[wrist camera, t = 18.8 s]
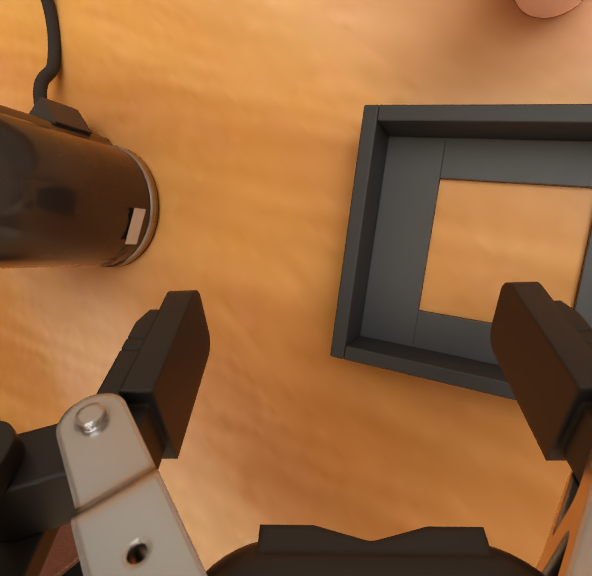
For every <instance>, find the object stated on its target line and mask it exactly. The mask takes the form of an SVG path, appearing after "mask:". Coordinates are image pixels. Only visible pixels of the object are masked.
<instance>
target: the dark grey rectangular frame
mask: <svg viewBox="0 0 592 576" xmlns="http://www.w3.org/2000/svg"><path fill="white" fill-rule="evenodd" d="M440 179H453V180H469V181H486V182H502V183H519V184H536V185H552V186H569V187H585V188H592V104H521V105H380V106H379V105H365V106H364V112H363V119H362V127H361V134H360V141H359V149H358V156H357V163H356V171H355V178H354V185H353V193H352V200H351V207H350V215H349V222H348V229H347V237H346V244H345V252H344V259H343V266H342V274H341V281H340V288H339V296H338V303H337V310H336V318H335V325H334V332H333V340H332V347H331V354H330V355H331V356H332V357H337V358H341V359H345V360H349V361H354V362H358V363H362V364H366V365H370V366H375V367H379V368H383V369H387V370H391V371H396V372H400V373H404V374H408V375H413V376H417V377H421V378H425V379H429V380H434V381H438V382H442V383H446V384H450V385H455V386H459V387H463V388H467V389H471V390H476V391H480V392H484V393H488V394H493V395H497V396H501V397H505V398H509V399H514V400H516V398H515V396H514V394H513V392H512V389H511V387H510V385H509V383H508V381H507V379H506V377H505V375H504V373H503V371H502V369H501V367H500V365H499V363H498V361H497V359H496V357H495V355H494V353H493V350H492V346H491V340H490V332H491V326H492V323H489V322H483V321H478V320H472V319H466V318H461V317H455V316H450V315H444V314H438V313H433V312H427V311H421V310H419V306H420V300H421V294H422V288H423V281H424V275H425V269H426V263H427V257H428V250H429V244H430V238H431V232H432V226H433V220H434V213H435V207H436V201H437V195H438V189H439V182H440ZM574 310H575V311H577V312H578V313H580V314H581V316H582V317H583V318H584V319H585V321H586V322H587V323H588V324H589V325H590V327H591V328H592V224H591V229H590V234H589V238H588V243H587V248H586V253H585V258H584V262H583V267H582V272H581V277H580V281H579V286H578V291H577V296H576V301H575V305H574Z"/></svg>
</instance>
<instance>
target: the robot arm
mask: <svg viewBox="0 0 592 576" xmlns="http://www.w3.org/2000/svg"><path fill="white" fill-rule="evenodd" d="M41 2H42V6H43V10H44V14H45V19H46V25H47V34H48V59H47V65H46V67H45V68H44V69H43V70H42V71H41V72H40V73H39V74H38V75H37V77H36V79H35V82H34V87H33V99H34V107H33V108H32V110H31V111H30V113H29V114H27V113H24V112H21V111H17V110H14V109H11V108H8V107H5V106H1V105H0V268H38V267H80V266H102V267H118V266H123V265H126V264H128V263H130V262H132V261H134V260H135V259H136V258H138V257H139V256H140V255H141V254H142V253H143V252H144V250H145V249H146V248H147V246H148V244H149V243H150V241H151V239H152V237H153V234H154V231H155V228H156V224H157V218H158V196H157V190H156V186H155V182H154V180H153V177H152V175H151V173H150V171H149V169H148V168H147V166H146V165H145V163H144V162H143V161H142V160H141V159H140V158H139V157H138V156H137V155H136V154H134V153H133V152H131V151H129V150H127V149H124V148H121V147H118V146H114V145H112V144H111V143H110V141H109V140H108V139H107V138H104V137H100V136H97V135H94V134H92V132H91V130H90V129H89V127H88V126H87V124H86V122H85V121H84V119H83V118H82V116H81V114H80V113H79V111H78V110H76V109H74V108H71V107H68V106H65V105H63V104H60V103H57V102H54V101H52V100H49V99H47V89H48V84H49V83H50V82H51V81H52V80H53V79H54V78H55V76H56V75H57V74H58V72H59V69H60V60H61V43H60V31H59V23H58V17H57V13H56V9H55V5H54V1H53V0H41ZM490 340H491V346H492V350H493V353H494V355H495V357H496V359H497V361H498V363H499V365H500V367H501V369H502V371H503V373H504V375H505V377H506V379H507V381H508V383H509V385H510V387H511V389H512V392H513V394H514V396H515V398H516V400H517V402H518V404H519V406H520V408H521V410H522V412H523V414H524V416H525V418H526V420H527V422H528V424H529V426H530V428H531V430H532V432H533V435H534V437H535V439H536V441H537V443H538V445H539V447H540V449H541V451H542V453H543V455H544V457H545V459H546V460H567V461H568V463H569V465H570V467H571V469H572V471H571V473H570V475H569V477H568V479H567V482H566V485H565V488H564V491H563V494H562V497H561V500H560V503H559V506H558V509H557V512H556V515H555V518H554V521H553V524H552V527H551V530H550V533H549V536H548V539H547V542H546V545H545V548H544V550H543V553H542V555H541V557H540V559H539V562H538V564H537V566H536V568H534V567H533V566H531V565H530V564H528V563H527V562H525V561H523V560H521V559H519V558H517V557H515V556H514V555H512V554H510V553H507V552H505V551H502V550H500V549H497V548H495V547H491V546H489V544H488V541H487V537H486V534H485V531H484V528H483V527H424V528H420V529H416V530H413V531H409V532H406V533H402V534H398V535H395V536H391V537H387V538H384V539H380V540H376V541H367V540H363V539H359V538H356V537H352V536H349V535H345V534H342V533H339V532H335V531H332V530H328V529H325V528H321V527H318V526H314V525H260V530H259V539H258V542H255V543H251V544H248V545H246V546H244V547H241V548H239V549H237V550H235V551H233V552H231V553H230V554H228V555H226V556H225V557H223V558H222V559H221V560H219V561H218V562H217V563H215V564H214V565H213V566H211V567H210V568H209V569H208V570H207V571H206V572H205V569H204V567H203V565H202V563H201V561H200V559H199V557H198V554H197V552H196V550H195V548H194V546H193V544H192V542H191V539H190V537H189V535H188V533H187V531H186V529H185V527H184V524H183V522H182V520H181V518H180V516H179V514H178V512H177V509H176V507H175V505H174V503H173V501H172V499H171V497H170V494H169V492H168V490H167V488H166V486H165V484H164V482H163V479H162V477H161V475H160V473H159V471H158V468H159V465H160V462H161V460H162V459H178V456H179V453H180V449H181V446H182V443H183V439H184V436H185V433H186V429H187V426H188V423H189V419H190V416H191V413H192V409H193V406H194V403H195V399H196V396H197V393H198V389H199V386H200V383H201V379H202V376H203V373H204V369H205V366H206V363H207V360H208V356H209V351H210V336H209V331H208V326H207V322H206V318H205V314H204V309H203V305H202V301H201V297H200V294H199V292H198V291H197V290H190V291H169V292H168V293H167V295H166V297H165V299H164V301H163V303H162V305H161V307H160V309H159V310H150V311H148V312H147V313H146V314H145V315H144V316H143V317H141V318H140V319H139V320H138V321H137V322H136V323H135V325H134V327H133V329H132V330H131V332H130V334H129V336H128V339H127V340H126V341H125V343H124V345H123V347H122V351H120V352H119V354H118V356H117V358H116V359H115V361H114V363H113V365H112V367H111V369H110V370H109V372H108V374H107V376H106V378H105V379H104V381H103V383H102V385H101V387H100V388H99V390H98V392H97V394H96V395H92V396H89V397H87V398H85V399H83V400H81V401H79V402H77V403H76V404H74V405H73V406H72V407H71V408H69V409H68V410H67V411H66V412H65V414H64V415H63V416H62V417H61V419H60V421H59V423H57V424H54V425H51V426H47V427H43V428H40V429H36V430H32V431H29V432H25V433H21V434H18V435H17V433H16V432H15V430H14V429H13V427H12V426H11V425H10V424H9V423H7V422H4V421H0V576H39V575H40V573H41V570H42V568H43V565H44V563H45V561H46V558H47V556H48V554H49V551H50V549H51V547H52V544H53V542H54V540H55V537H56V535H57V533H58V530H59V528H60V526H63V525H66V524H69V523H71V527H72V531H73V535H74V539H75V544H76V548H77V552H78V556H79V560H80V564H81V568H82V572H83V576H592V328H591V327H590V325H589V324H588V323H587V322H586V321H585V319H584V318H583V317H582V316H581V314H580V313H578V312H577V311H575V310H574V309H572V308H571V307H569V306H568V305H566V304H565V303H563V302H562V301H553V299H552V298H551V297H550V296H549V294H548V293H547V292H546V290H545V289H544V288H543V286H542V285H541V284H540V283H538V282H512V283H505V284H504V285H503V286H502V288H501V291H500V295H499V299H498V303H497V307H496V311H495V315H494V318H493V322H492V326H491V332H490Z"/></svg>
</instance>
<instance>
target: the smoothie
mask: <svg viewBox="0 0 592 576" xmlns="http://www.w3.org/2000/svg"><path fill="white" fill-rule="evenodd" d="M582 1H583V0H515V2H516V4H517V5H518V7H519V8H520V9H521V10H522V11H523V12H525V13H526V14H528V15H530V16H533V17H537V18H550V17H555V16H559V15H561V14H564V13H566V12H568V11H570V10H571V9H573V8H574V7H576V6H577V5H578V4H580V3H581V2H582Z"/></svg>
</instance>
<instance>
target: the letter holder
mask: <svg viewBox="0 0 592 576" xmlns="http://www.w3.org/2000/svg"><path fill="white" fill-rule="evenodd" d="M39 576H83V572H82V568H81V564H80V560H79V556H78V552H77V548H76V544H75V539H74V535H73V531H72V527H71V523H69V524H66V525H63V526H60V528H59V530H58V533H57V535H56V537H55V540H54V542H53V544H52V547H51V549H50V551H49V554H48V556H47V558H46V561H45V563H44V565H43V568H42V570H41V573H40V575H39Z"/></svg>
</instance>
